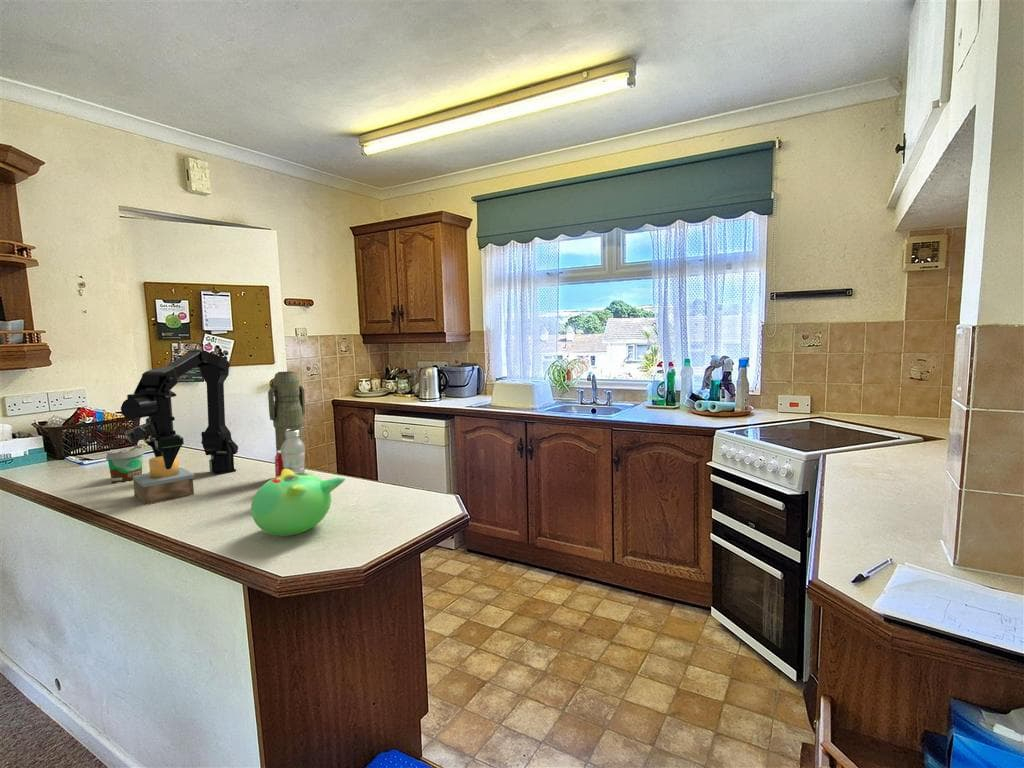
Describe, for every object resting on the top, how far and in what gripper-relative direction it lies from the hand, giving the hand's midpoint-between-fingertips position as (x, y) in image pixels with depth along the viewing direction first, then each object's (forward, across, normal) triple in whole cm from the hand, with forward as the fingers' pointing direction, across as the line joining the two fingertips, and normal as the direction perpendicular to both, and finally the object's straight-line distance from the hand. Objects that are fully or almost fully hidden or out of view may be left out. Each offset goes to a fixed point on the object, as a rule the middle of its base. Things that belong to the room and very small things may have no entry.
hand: (164, 466), depth 147 cm
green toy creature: (+9, +57, +12) cm, 59 cm away
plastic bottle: (+9, +33, +24) cm, 41 cm away
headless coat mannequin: (+9, +10, +32) cm, 35 cm away
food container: (+9, -29, -3) cm, 30 cm away
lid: (+4, 0, 0) cm, 4 cm away
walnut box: (+9, 0, 0) cm, 9 cm away
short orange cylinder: (+2, 0, 0) cm, 2 cm away
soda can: (+9, +22, +26) cm, 36 cm away
